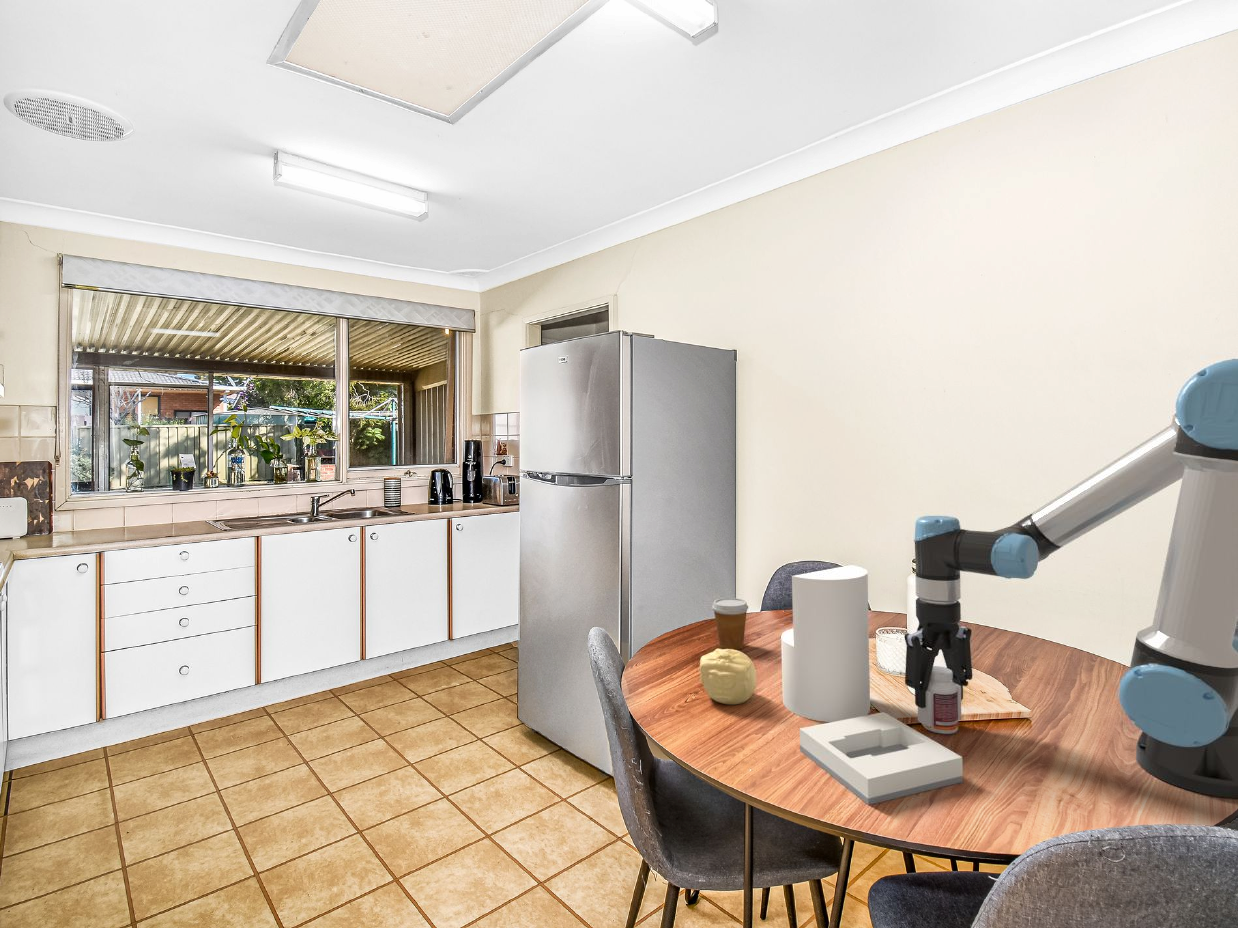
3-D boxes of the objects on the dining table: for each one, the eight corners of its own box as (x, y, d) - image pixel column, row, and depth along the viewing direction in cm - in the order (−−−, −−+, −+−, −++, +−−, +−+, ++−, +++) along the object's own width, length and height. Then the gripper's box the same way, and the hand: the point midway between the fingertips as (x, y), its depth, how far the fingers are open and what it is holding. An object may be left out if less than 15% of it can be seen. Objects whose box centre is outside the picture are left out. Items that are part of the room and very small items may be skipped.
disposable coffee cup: (710, 651, 167) (709, 605, 167) (716, 639, 176) (714, 596, 176) (747, 653, 164) (746, 607, 164) (751, 641, 173) (749, 598, 173)
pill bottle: (963, 726, 120) (962, 669, 120) (951, 738, 116) (950, 678, 115) (928, 717, 124) (928, 661, 124) (916, 728, 120) (915, 670, 120)
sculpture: (694, 704, 134) (693, 654, 134) (713, 684, 145) (712, 637, 144) (747, 714, 129) (746, 661, 128) (763, 692, 139) (762, 643, 139)
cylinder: (889, 708, 129) (886, 571, 128) (828, 730, 121) (825, 583, 119) (823, 681, 144) (820, 558, 143) (765, 699, 136) (762, 568, 135)
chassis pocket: (883, 733, 119) (883, 711, 119) (962, 781, 102) (962, 757, 101) (800, 750, 113) (799, 728, 113) (868, 804, 96) (867, 778, 96)
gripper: (961, 589, 126) (963, 704, 126) (881, 599, 120) (883, 720, 121) (994, 598, 118) (996, 720, 119) (910, 609, 113) (912, 737, 114)
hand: (939, 720), depth 120 cm, fingers closed on pill bottle, 6 cm apart
